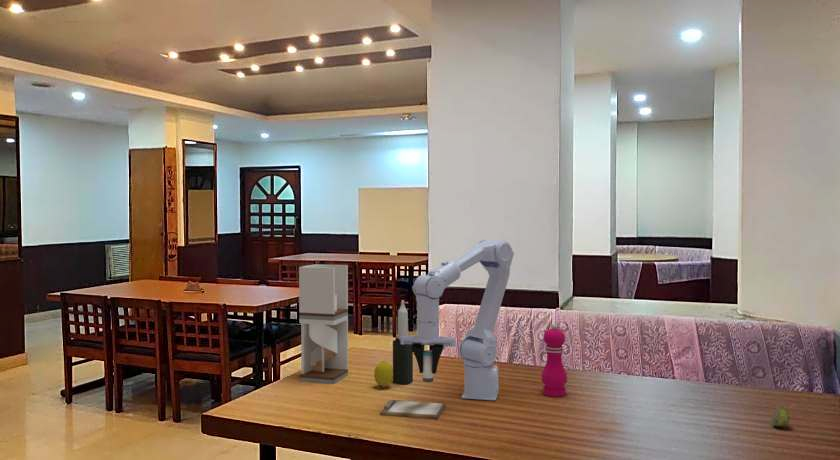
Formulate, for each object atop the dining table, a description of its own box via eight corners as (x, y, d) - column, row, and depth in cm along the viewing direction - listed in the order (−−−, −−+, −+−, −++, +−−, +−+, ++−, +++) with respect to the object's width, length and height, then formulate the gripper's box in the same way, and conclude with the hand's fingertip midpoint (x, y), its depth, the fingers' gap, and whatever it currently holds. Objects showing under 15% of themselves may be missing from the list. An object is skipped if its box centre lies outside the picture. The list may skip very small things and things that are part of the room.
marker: (434, 379, 164) (434, 350, 164) (432, 382, 161) (432, 352, 161) (423, 379, 165) (423, 349, 164) (421, 382, 162) (421, 352, 161)
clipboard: (445, 405, 165) (445, 400, 165) (437, 419, 154) (437, 413, 154) (391, 402, 168) (391, 397, 168) (380, 414, 157) (379, 409, 157)
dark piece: (391, 383, 187) (391, 300, 186) (399, 379, 191) (399, 298, 191) (406, 385, 185) (406, 301, 184) (414, 381, 189) (414, 299, 188)
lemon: (392, 390, 179) (392, 363, 179) (373, 390, 179) (373, 362, 179) (393, 385, 185) (393, 358, 185) (375, 385, 185) (375, 358, 185)
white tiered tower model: (299, 381, 189) (299, 267, 188) (315, 372, 199) (314, 264, 198) (333, 384, 186) (333, 268, 185) (348, 375, 196) (347, 265, 195)
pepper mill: (565, 390, 179) (565, 321, 179) (568, 397, 172) (568, 325, 171) (540, 389, 180) (540, 321, 179) (542, 396, 173) (542, 325, 172)
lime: (780, 431, 146) (780, 410, 145) (763, 424, 150) (763, 404, 150) (795, 429, 147) (795, 408, 147) (778, 422, 152) (778, 402, 151)
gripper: (397, 322, 160) (397, 374, 161) (452, 324, 157) (452, 378, 157) (404, 318, 167) (404, 368, 167) (457, 320, 164) (457, 371, 164)
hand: (428, 372), depth 163 cm, fingers closed on marker, 3 cm apart
